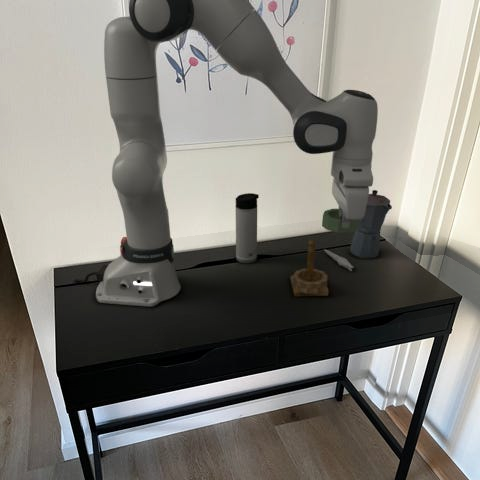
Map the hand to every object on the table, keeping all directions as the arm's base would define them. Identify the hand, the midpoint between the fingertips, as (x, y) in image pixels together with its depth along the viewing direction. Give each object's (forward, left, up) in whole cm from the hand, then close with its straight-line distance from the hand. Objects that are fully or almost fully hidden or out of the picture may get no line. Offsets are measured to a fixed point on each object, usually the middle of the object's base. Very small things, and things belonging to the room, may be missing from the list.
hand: (343, 225), depth 125 cm
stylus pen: (+5, +22, -20) cm, 30 cm away
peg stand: (-6, +6, -20) cm, 22 cm away
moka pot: (+14, +28, -20) cm, 37 cm away
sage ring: (0, +4, -2) cm, 4 cm away
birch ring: (-6, +4, -19) cm, 20 cm away
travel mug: (-22, +25, -20) cm, 39 cm away
